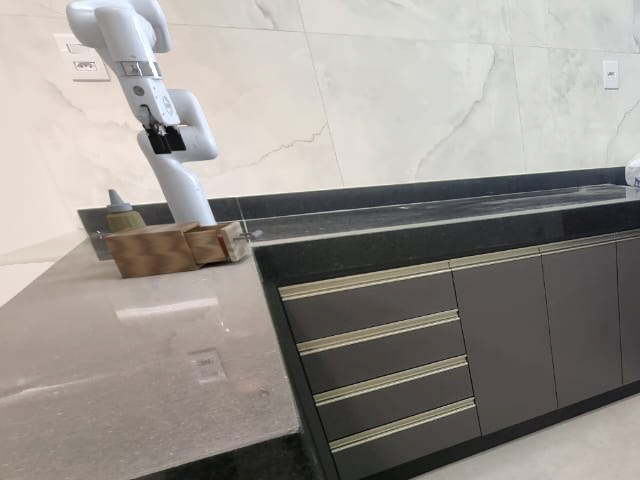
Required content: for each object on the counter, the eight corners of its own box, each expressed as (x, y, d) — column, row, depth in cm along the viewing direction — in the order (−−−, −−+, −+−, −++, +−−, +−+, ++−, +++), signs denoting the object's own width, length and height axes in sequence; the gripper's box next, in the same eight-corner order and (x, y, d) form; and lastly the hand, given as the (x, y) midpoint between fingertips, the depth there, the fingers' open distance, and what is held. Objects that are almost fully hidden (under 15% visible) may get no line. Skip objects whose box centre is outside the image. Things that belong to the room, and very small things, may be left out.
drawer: (271, 248, 142) (260, 219, 138) (260, 258, 132) (249, 226, 129) (189, 257, 136) (176, 227, 133) (171, 268, 126) (157, 235, 123)
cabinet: (214, 258, 138) (199, 221, 134) (197, 269, 128) (180, 230, 124) (146, 265, 134) (128, 227, 130) (122, 278, 123) (102, 237, 119)
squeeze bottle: (139, 264, 136) (106, 191, 128) (115, 263, 137) (80, 192, 130) (170, 256, 143) (140, 186, 135) (146, 255, 144) (115, 187, 137)
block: (214, 253, 135) (207, 235, 133) (235, 250, 136) (228, 232, 134) (208, 257, 131) (200, 238, 129) (229, 254, 132) (222, 236, 130)
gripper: (143, 70, 114) (177, 154, 122) (173, 73, 129) (201, 148, 136) (100, 70, 112) (137, 156, 119) (136, 74, 126) (166, 150, 134)
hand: (171, 152), depth 128 cm, fingers open, 9 cm apart
